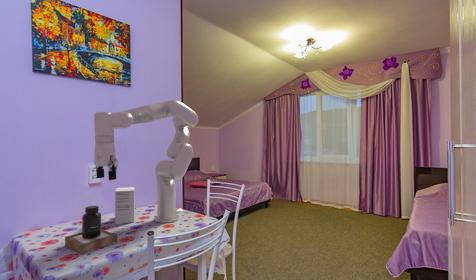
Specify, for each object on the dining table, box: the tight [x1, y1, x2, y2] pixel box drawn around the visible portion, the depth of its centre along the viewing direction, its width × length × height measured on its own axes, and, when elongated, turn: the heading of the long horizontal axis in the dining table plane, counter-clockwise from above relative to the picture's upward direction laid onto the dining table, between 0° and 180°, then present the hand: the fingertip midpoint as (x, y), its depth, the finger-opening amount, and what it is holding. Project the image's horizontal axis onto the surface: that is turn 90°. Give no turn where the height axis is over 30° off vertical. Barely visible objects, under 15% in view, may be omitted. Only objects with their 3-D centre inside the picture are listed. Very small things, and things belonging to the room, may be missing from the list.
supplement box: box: [114, 186, 136, 225], centre depth 136 cm, size 10×9×17 cm
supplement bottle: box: [81, 205, 102, 239], centre depth 106 cm, size 7×7×12 cm
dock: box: [64, 228, 118, 256], centre depth 106 cm, size 14×14×4 cm
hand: (106, 178), depth 114 cm, fingers open, 9 cm apart
